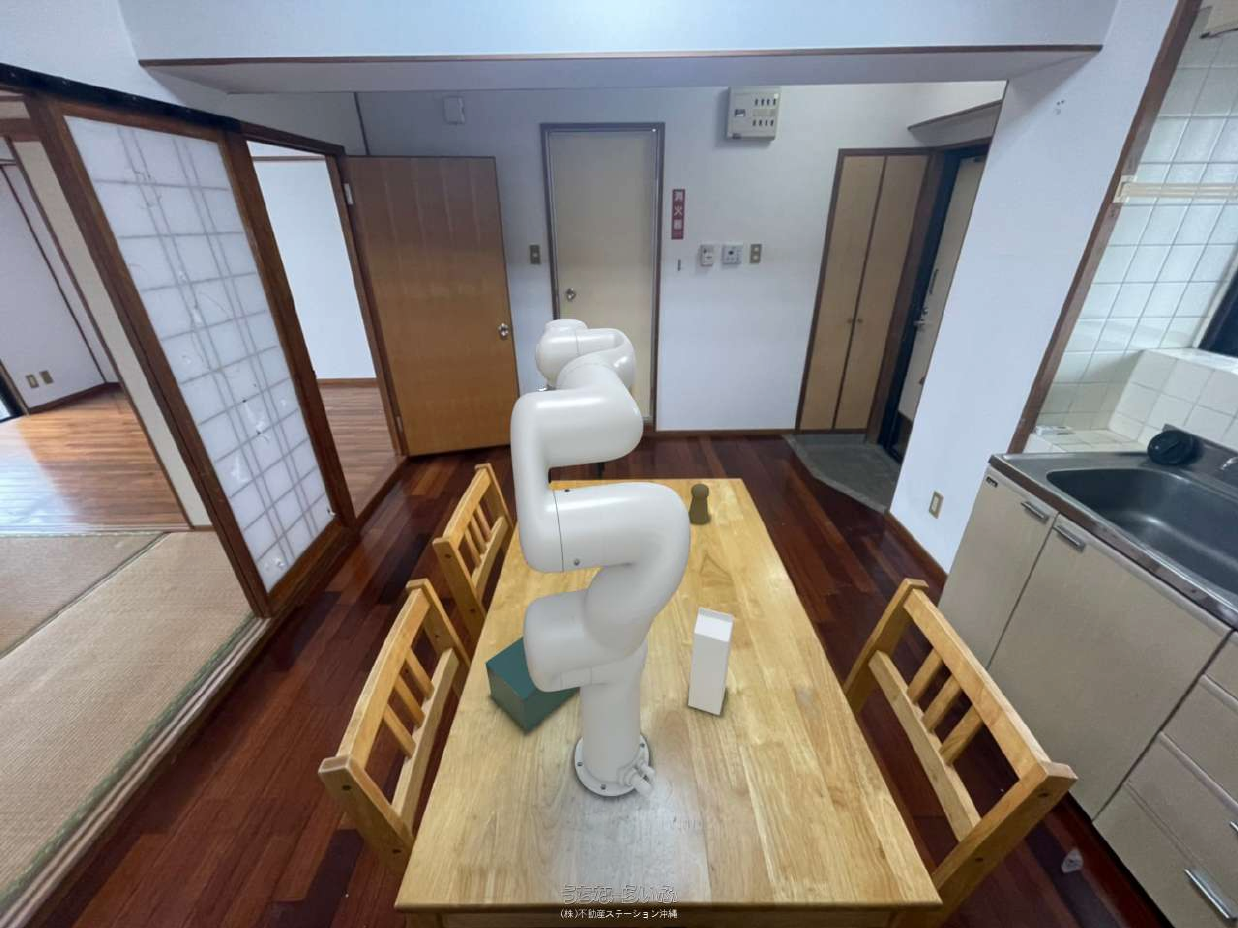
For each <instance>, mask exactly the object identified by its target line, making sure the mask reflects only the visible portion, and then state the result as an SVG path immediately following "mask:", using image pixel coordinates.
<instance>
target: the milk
mask: <svg viewBox="0 0 1238 928" xmlns="http://www.w3.org/2000/svg"><path fill="white" fill-rule="evenodd" d="M697 613H698V614H697V617H696V622H695V626H694V631H693V638H692V639H693V641H692V650H691V651H692V652H691V665H690V677H689V689H688V690H689V691H688V702H687V706H688V707H692V708H695V709H697V710H701V711H704V712H706V713H707V712H708V713H710V714H713V715H717V716H720V714H721V710H722V707H723V702H724V697H725V693H726V689H727V680H728V673H729V665H730V657H731V650H732V649H731V648H732V641H733V636H734V635H733V633H734V628H735V627H734V626H735V619H736V618H735V617H734V615H733V614H730V613H725V612H721V611H718V610H713V609H710V608H705V607H703V606H702V607H701V606H700V607H698V612H697Z"/></svg>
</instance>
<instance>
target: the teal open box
mask: <svg viewBox="0 0 1238 928" xmlns="http://www.w3.org/2000/svg"><path fill="white" fill-rule="evenodd" d="M485 669H486V673H487V679H488V684H489V689H490V695H491V698H492V699H494V700H495V702H497V704H498V705H499V706H501V708H502V709H504V711H505V712H506V713H508V714H509V715H510V717H511V718H512V719H513V720H514V721H515V722H516V723H517V724H518V725H519V726H520V727H521V728H522V729H523V731H525V732H526V733H529V732H530V731H531V730H533V729H534V728H535V727H536V726H537V725H539V724H540V723H541V722H542V721H543V720H544V719H546V718H547V717H548V716H549V715H550V714H552V713H553V711H555V710H556V709H557V708H559V706H561V705H562V704H563V703H565V701H567V700H568V699H569V698H570V697H571V696H573V695H574V694H575V693H576V692H577V691H578V690H580V687H574V688H569V689H564V690H559V691H553V692H544V691H541V690H539V689H538V690H537V691H535V692H534V693H533V694H532V695H530V696H529V697H528V698H527V699H525V700H524V701H522V700H521V699H520V698H519V697H518V696H517V695H516V694H515V693H514V692H513V691H512V690H511V689H510V688H509V687H508V686H507V685H506V684H504V683H503V682H502V681H501V680H500V679H499V678H498V677H497V676H496V675H495V674H494V673H493V672H492V671H491V670H490V669H489V668H488V667H487V666H486V665H485Z"/></svg>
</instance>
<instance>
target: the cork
mask: <svg viewBox="0 0 1238 928" xmlns="http://www.w3.org/2000/svg"><path fill="white" fill-rule="evenodd" d="M690 494H691V496H692V497H691V502H690V504H689V505H690V506H689V510H688V515H689V519H690V523H692V524H695V525H704V524H706V523H708V521H709V508H708V497H709V496H710V488H709V485H706V484H704V483H696V484H695V483H694V484H693V485H692V486H691V489H690Z"/></svg>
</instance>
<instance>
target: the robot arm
mask: <svg viewBox="0 0 1238 928" xmlns="http://www.w3.org/2000/svg"><path fill="white" fill-rule="evenodd" d="M542 332H543V333H542V335H541V336H540V338H539V341H538V343H537V344H536V345H535V350H534V359H535V360H534V361H535V365H536V369H537V371H538V372H540V375H541V376H542V377H543V378H544V379H546V385H545V386H543V387H541V388H540V387H539V388H538V391H532V392H527V393H525V394H523V395H521V396H520V397H518V398H517V400H516V401H515V403H514V406H513V408H512V412H511V415H510V416H511V417H510V427H509V429H510V430H509V431H510V432H509V435H510V436H509V439H510V454H511V455H510V456H511V467H512V477H513V487H514V499H515V507H516V508H515V511H516V520H517V529H518V540H519V546H520V550H521V554H522V557H523V560H524V561H525V563H526V565H527V566H528V567H529V568H530V569H531V570H533V571H535V572H537V573H541V574H550V575H551V574H561V573H562V574H563V573H569V572H574V571H581V570H588V569H595V568H600V569H599V570H598V571H597V572H596V574H595V575H594V576H593V577H592V578H591V580H590V582H589V584H588V586H587V588H584V589H578V590H577V589H576V590H572V591H564V592H558V593H551V594H547V595H542V596H540V597H538V598H536V599H534V600H532V601H531V602H530V603H529V604H528V606H527V607H526V610H525V611H524V615H523V623H522V637H523V642H524V649H525V655H526V661H527V666H528V670H529V674H530V677H531V679H532V681H533V683H534V684H535V686H536V687H537V688H538V689H539V690H541V691H544V692H553V691H559V690H564V689H569V688H574V687H580V688H579V710H580V725H581V737H580V738H579V740H578V741H577V744H576V747H575V749H574V768H575V771H576V775H577V777H578V779H579V780H580V781H581V783H582V784H583V785H584V786H585V787H586V788H587V789H588V790H590V791H591V792H593V793H595V794H597V795H600V796H605V797H617V796H621V795H625V794H627V793H629V792H631V791H633V790H634V789H635V790H636V791H637V792H638V793H639V794H640V795H641V796H642V797H643V798H644V799H647V798H648V797H649V796H650V795H651V793H652V791H653V786H652V784H650V783H649V782H648V781H647V780H646V779H645V776H646V777H647V778H648V779H649V780H653V779H654V778H655V776H656V773H657V771H656V770H655V769H653V767H651V766H649V761H650V753H649V747H648V744H647V742H646V740H645V738H644V737H643V735H642V734H641V704H642V703H641V699H642V698H641V697H642V696H641V695H642V678H643V672H644V669H645V666H646V662H647V659H648V658H647V657H648V651H649V638H648V634H649V631H650V629H651V627H652V625H653V624H654V621H655V619H656V617H657V616H658V615H659V614H660V613H661V611H663V610H664V608H665V607H666V606H667V605H668V603H669V602H670V601H671V600H672V598H673V597H674V595H675V594H676V593H677V591H678V589H679V587H680V585H681V583H682V582H683V579H684V576H685V573H686V571H687V567H688V564H689V558H690V552H691V550H690V549H691V541H692V540H691V539H692V538H691V537H692V533H691V532H692V530H691V522H690V519H689V515H688V514H689V510H688V509H687V506H686V504H685V501H684V500H683V498H682V497H681V495H680V494H679V493H677V492H676V491H675V490H674V489H672V488H671V487H669V486H666V485H664V484H660V483H655V482H649V481H648V482H647V481H646V482H645V481H626V482H616V483H608V484H600V485H599V484H598V485H592V486H583V487H574V488H567V489H566V488H565V489H558V490H557V489H556V490H552V489H551V487H550V484H551V483H552V472H551V471H552V468H559V467H568V466H577V465H586V464H587V465H588V464H594V465H595V466H594V467H595V468H594V469H595V474H596V475H597V478H599V479H602V478H603V472H605V470H606V469H605V468H606V466H605V463H606V462H610V461H614V460H617V459H620V458H623V457H625V456H627V455H628V454H630V453H631V452H632V451H634V450H635V449H636V447H637V446H638V444H639V443H640V441H641V439H642V437H643V433H644V420H643V415H642V412H641V410H640V408H639V406H638V404H637V402H636V401H635V399H634V398H633V396H632V395H631V393H630V389H631V388H632V386H633V384H634V382H635V379H636V373H637V358H636V354H635V349H634V347H633V344H632V342H631V341H630V339H629V338H628V337H627V336H626V334H625V333H624V332H623V331H621V330H620V329H617V328H613V327H611V328H610V327H604V328H603V327H602V328H601V327H600V328H588V326H587V324H586V323H585V322H584V321H582V320H579V319H575V318H558V319H553V320H550V321H549V322H546V324H545V325H544V327H543V330H542Z"/></svg>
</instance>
